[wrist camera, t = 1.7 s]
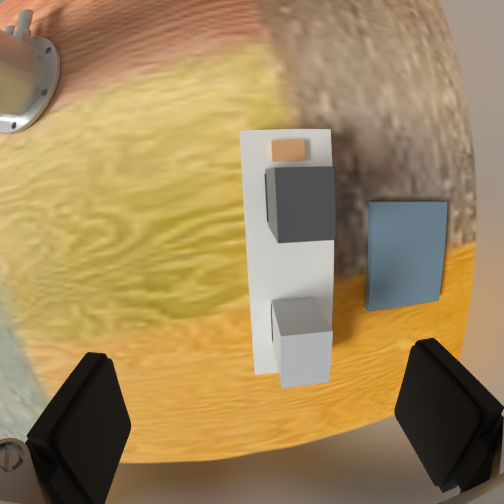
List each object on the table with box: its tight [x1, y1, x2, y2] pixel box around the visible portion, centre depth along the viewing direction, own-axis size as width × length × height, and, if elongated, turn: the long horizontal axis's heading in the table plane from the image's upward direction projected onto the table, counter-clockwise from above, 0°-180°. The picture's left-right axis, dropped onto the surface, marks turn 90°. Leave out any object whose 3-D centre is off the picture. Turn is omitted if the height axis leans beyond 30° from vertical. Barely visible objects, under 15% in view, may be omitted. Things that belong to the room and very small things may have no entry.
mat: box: [365, 201, 447, 311], centre depth 32 cm, size 12×10×1 cm
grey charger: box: [272, 297, 333, 388], centre depth 27 cm, size 5×4×8 cm
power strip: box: [240, 129, 334, 374], centre depth 30 cm, size 24×8×4 cm, turn 3°
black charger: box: [265, 166, 336, 243], centre depth 25 cm, size 5×4×8 cm
